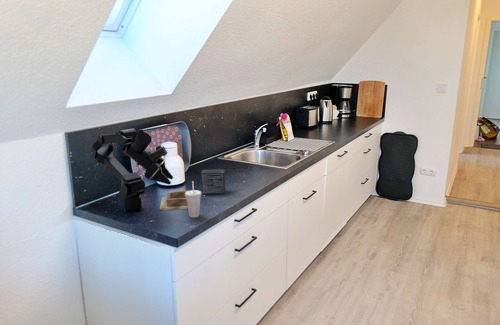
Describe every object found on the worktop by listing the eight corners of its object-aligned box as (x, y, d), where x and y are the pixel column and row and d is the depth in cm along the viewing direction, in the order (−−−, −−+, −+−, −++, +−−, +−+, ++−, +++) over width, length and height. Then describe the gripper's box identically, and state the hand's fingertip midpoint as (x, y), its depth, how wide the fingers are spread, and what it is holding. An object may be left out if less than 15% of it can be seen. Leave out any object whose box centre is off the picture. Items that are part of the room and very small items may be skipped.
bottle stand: (159, 210, 167) (159, 201, 166) (162, 198, 181) (161, 190, 180) (199, 208, 169) (198, 199, 168) (198, 196, 183) (198, 188, 182)
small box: (225, 190, 192) (224, 168, 189) (225, 194, 185) (224, 172, 183) (203, 190, 191) (202, 169, 189) (201, 195, 185) (200, 173, 182)
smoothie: (203, 212, 164) (202, 179, 161) (201, 218, 158) (199, 184, 155) (187, 212, 165) (185, 179, 161) (184, 218, 158) (182, 184, 155)
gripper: (149, 143, 150) (182, 170, 153) (156, 137, 168) (186, 161, 171) (130, 166, 151) (163, 192, 154) (139, 157, 169) (169, 181, 172)
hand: (171, 180), depth 163 cm, fingers open, 9 cm apart
